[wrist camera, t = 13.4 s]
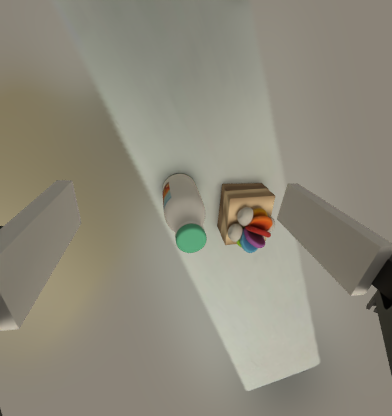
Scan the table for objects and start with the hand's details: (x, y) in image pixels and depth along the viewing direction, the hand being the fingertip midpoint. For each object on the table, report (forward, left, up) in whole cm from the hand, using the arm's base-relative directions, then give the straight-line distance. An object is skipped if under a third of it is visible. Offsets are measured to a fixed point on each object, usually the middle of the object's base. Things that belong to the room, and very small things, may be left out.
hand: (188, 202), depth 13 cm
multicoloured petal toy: (+18, +18, -25) cm, 36 cm away
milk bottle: (+13, +3, -33) cm, 36 cm away
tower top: (+18, +18, -29) cm, 39 cm away
